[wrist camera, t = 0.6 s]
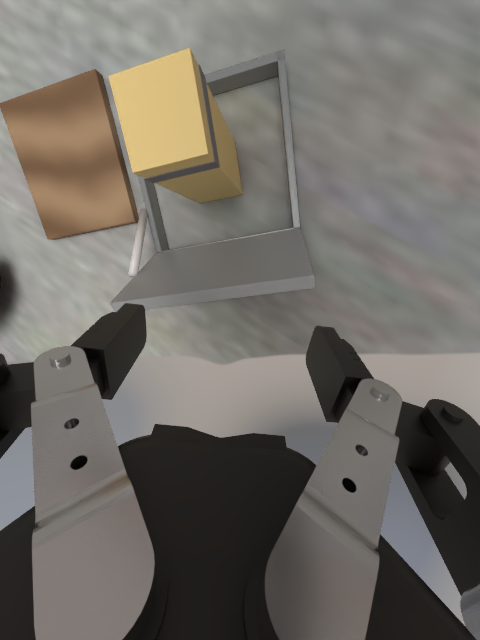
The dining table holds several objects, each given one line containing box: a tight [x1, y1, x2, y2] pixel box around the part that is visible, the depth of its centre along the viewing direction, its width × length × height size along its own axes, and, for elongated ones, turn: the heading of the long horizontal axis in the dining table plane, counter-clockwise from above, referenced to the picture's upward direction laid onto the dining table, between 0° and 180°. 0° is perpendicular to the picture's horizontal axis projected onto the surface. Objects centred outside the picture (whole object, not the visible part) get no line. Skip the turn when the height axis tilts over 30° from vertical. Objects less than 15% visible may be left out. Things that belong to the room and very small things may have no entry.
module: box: [109, 48, 243, 203], centre depth 20 cm, size 5×5×13 cm
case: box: [110, 50, 315, 312], centre depth 21 cm, size 18×16×12 cm
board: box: [0, 69, 139, 240], centre depth 28 cm, size 14×12×1 cm
